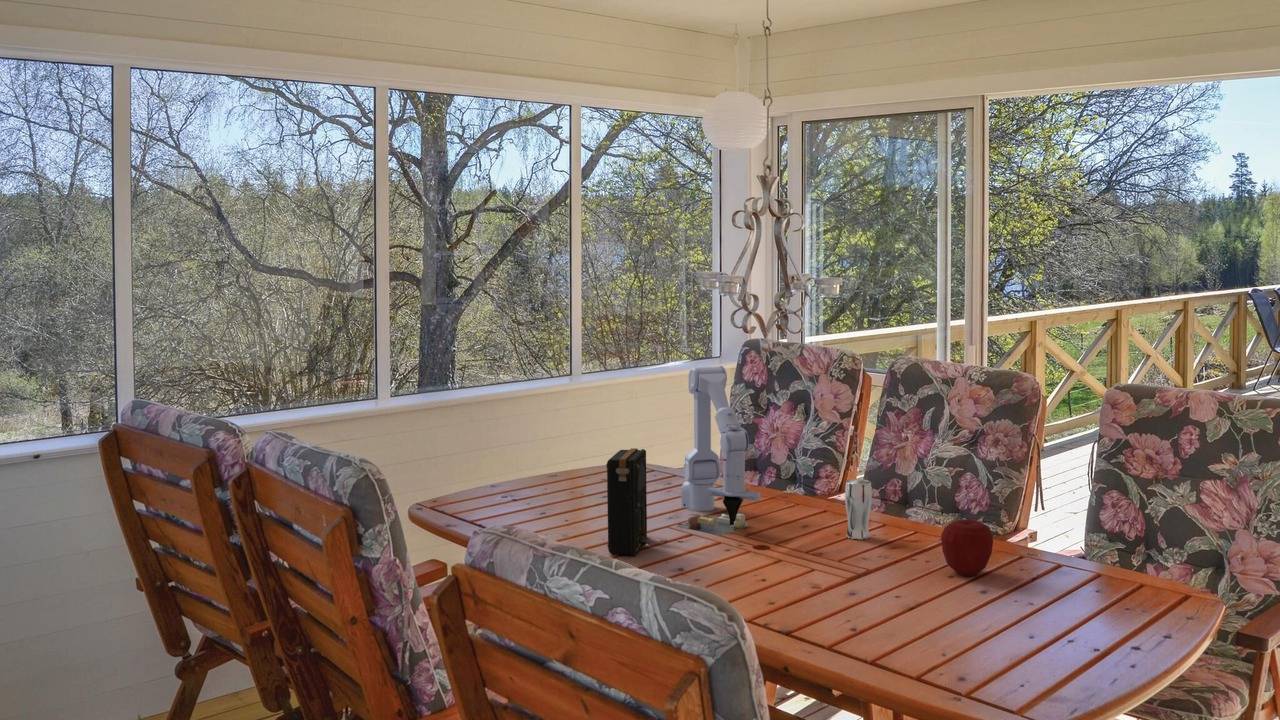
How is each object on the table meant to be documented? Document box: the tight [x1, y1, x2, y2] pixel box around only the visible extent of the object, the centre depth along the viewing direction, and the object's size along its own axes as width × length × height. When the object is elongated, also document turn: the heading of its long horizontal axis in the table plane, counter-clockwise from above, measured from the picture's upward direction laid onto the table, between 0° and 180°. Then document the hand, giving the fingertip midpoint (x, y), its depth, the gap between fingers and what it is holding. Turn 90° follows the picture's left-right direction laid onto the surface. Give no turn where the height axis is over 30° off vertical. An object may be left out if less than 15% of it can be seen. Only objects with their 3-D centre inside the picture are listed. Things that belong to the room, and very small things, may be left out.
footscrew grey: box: [732, 513, 746, 529], centre depth 278 cm, size 9×4×3 cm, turn 174°
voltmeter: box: [606, 447, 648, 557], centre depth 263 cm, size 16×9×25 cm, turn 168°
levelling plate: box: [675, 515, 750, 537], centre depth 281 cm, size 15×14×1 cm
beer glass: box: [844, 478, 873, 541], centre depth 272 cm, size 7×7×15 cm
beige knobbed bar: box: [687, 513, 716, 528], centre depth 279 cm, size 9×4×3 cm, turn 49°
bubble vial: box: [717, 513, 730, 524], centre depth 285 cm, size 4×2×2 cm, turn 49°
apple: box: [940, 517, 994, 577], centre depth 240 cm, size 12×12×13 cm
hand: (733, 524), depth 277 cm, fingers closed, pressing on footscrew grey
